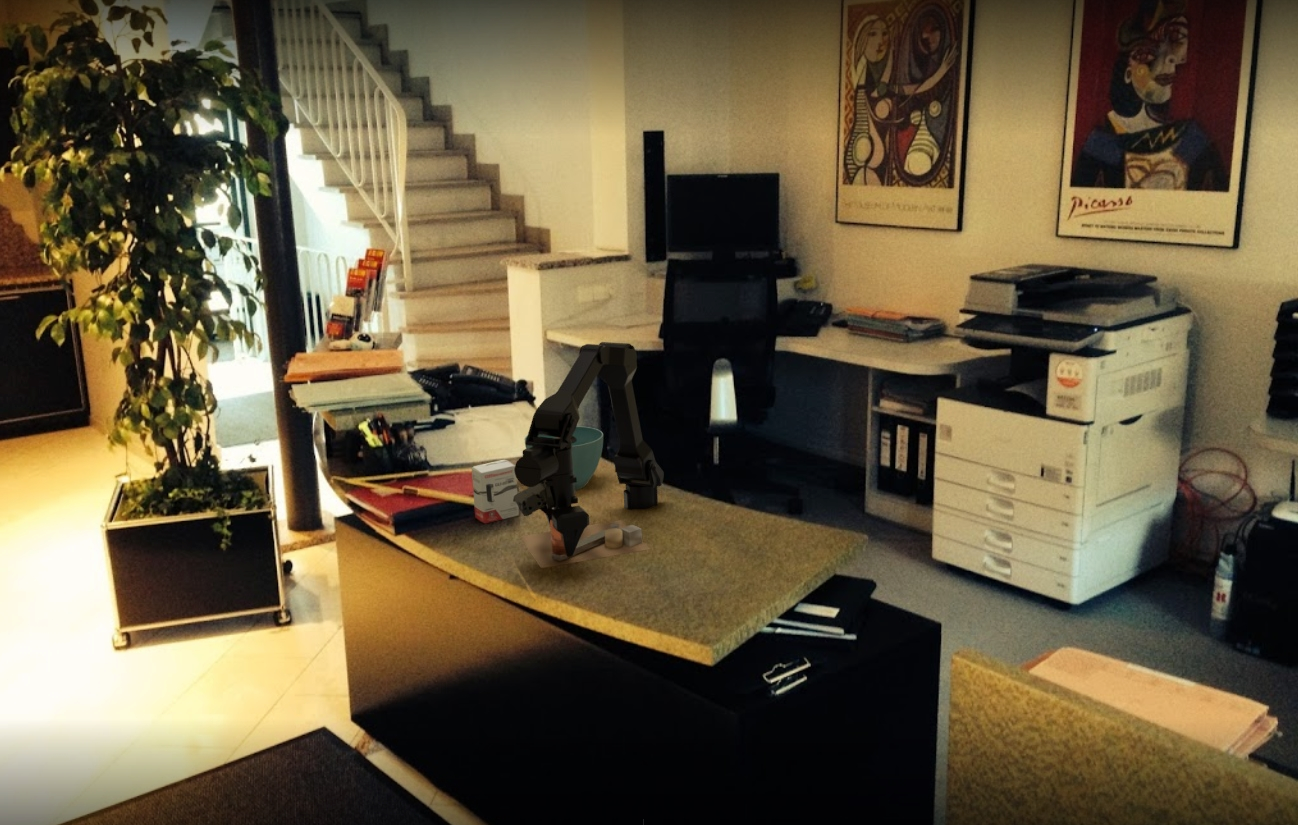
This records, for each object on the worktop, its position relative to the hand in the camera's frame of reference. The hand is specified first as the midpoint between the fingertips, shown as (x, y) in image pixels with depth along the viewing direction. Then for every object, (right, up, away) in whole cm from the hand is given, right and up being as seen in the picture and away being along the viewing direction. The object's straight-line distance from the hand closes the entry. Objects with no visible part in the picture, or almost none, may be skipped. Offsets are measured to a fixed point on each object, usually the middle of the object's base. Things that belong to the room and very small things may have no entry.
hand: (563, 548), depth 214 cm
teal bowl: (-3, +9, +47) cm, 48 cm away
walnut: (+10, 0, +6) cm, 12 cm away
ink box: (-16, +3, +29) cm, 33 cm away
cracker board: (+4, -1, +9) cm, 10 cm away
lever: (+4, -1, +5) cm, 6 cm away
